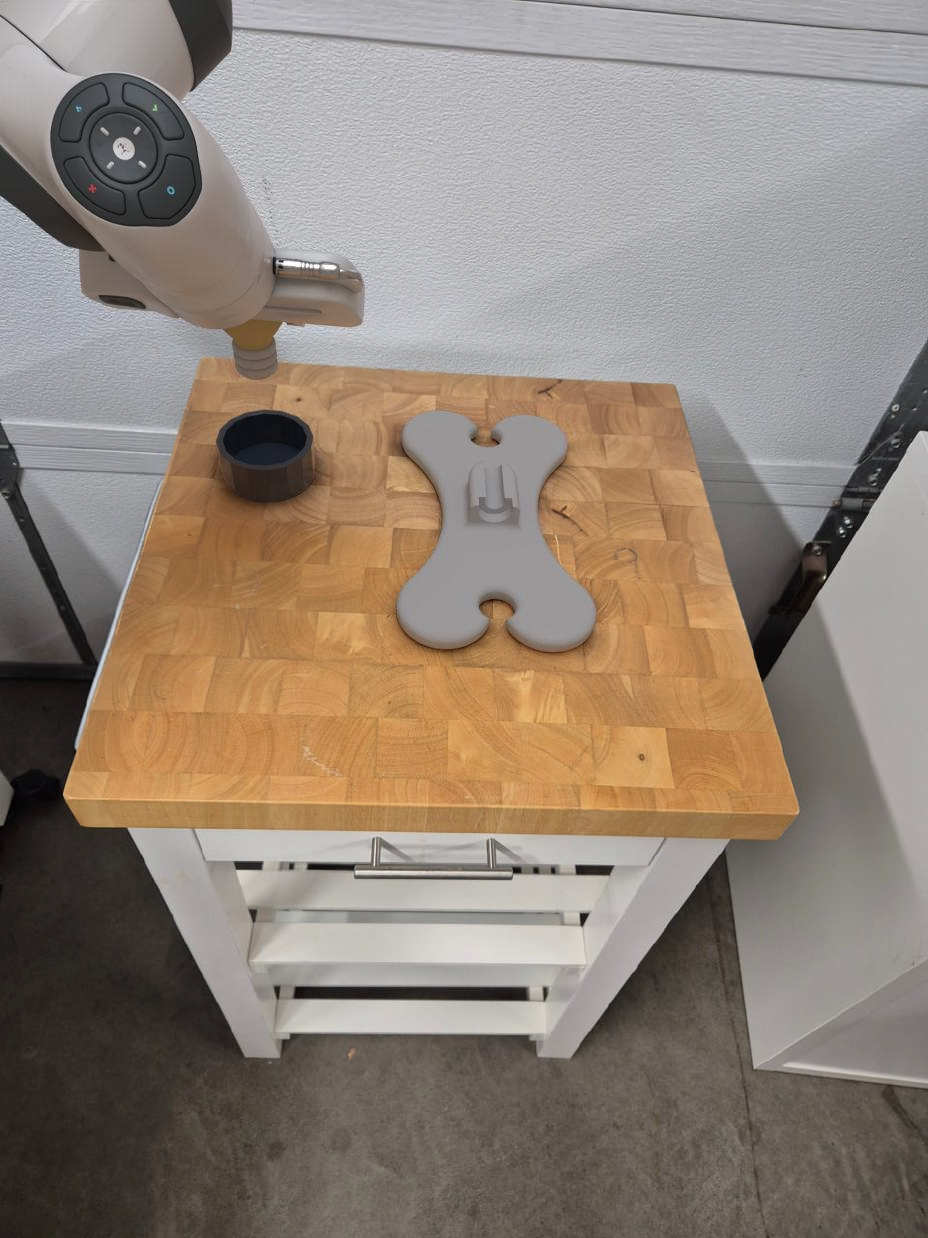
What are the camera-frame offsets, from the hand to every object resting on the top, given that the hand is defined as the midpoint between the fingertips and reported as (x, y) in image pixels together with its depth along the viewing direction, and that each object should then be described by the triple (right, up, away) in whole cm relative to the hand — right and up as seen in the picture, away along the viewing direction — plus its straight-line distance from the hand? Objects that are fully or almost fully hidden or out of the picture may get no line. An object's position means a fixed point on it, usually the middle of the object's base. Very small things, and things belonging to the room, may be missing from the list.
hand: (251, 312), depth 70 cm
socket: (-3, -10, +19) cm, 22 cm away
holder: (+21, -16, +17) cm, 31 cm away
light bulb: (0, -4, +4) cm, 6 cm away
